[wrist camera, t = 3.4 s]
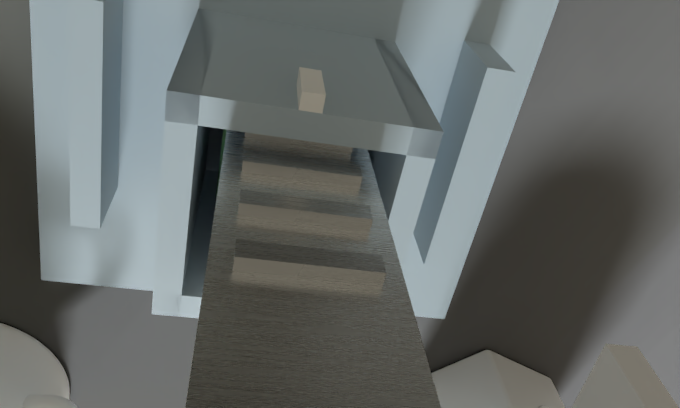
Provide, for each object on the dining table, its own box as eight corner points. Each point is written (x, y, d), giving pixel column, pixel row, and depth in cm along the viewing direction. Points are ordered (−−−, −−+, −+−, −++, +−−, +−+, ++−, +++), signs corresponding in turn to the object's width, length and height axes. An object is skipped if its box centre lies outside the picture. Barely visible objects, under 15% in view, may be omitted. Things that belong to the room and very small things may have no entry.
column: (207, 171, 25) (76, 879, 8) (222, 40, 22) (72, 684, 6) (338, 188, 26) (457, 857, 9) (366, 64, 23) (599, 681, 7)
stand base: (49, 263, 28) (-35, 429, 21) (33, -216, 19) (-124, -239, 12) (438, 302, 31) (492, 459, 24) (577, -95, 23) (733, -50, 15)
